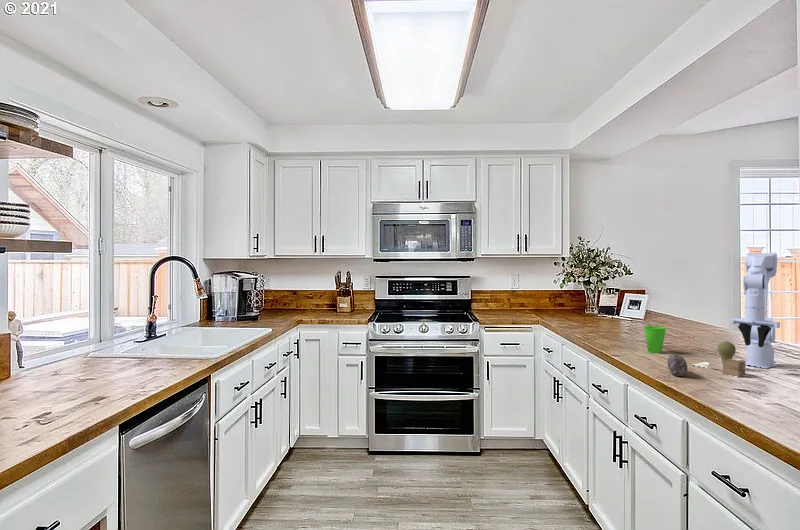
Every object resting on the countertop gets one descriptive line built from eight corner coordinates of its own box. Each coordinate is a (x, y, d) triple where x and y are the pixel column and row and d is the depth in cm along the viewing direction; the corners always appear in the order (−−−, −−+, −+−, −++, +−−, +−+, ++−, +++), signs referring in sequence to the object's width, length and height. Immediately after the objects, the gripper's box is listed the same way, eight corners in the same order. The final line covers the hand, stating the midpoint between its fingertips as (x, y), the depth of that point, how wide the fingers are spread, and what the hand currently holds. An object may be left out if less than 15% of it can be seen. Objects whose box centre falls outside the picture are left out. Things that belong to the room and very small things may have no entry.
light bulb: (738, 370, 177) (738, 343, 177) (721, 369, 178) (721, 342, 178) (731, 367, 182) (731, 340, 182) (714, 366, 183) (715, 339, 183)
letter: (704, 362, 191) (704, 361, 191) (744, 369, 179) (744, 368, 179) (691, 365, 186) (691, 364, 186) (731, 372, 174) (731, 372, 174)
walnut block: (729, 372, 174) (729, 359, 174) (745, 375, 170) (745, 361, 170) (722, 374, 172) (722, 360, 171) (738, 377, 167) (738, 363, 167)
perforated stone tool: (664, 368, 181) (664, 350, 181) (680, 369, 179) (680, 351, 179) (671, 377, 167) (671, 357, 167) (688, 379, 165) (688, 358, 165)
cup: (644, 353, 209) (644, 328, 209) (642, 349, 217) (642, 325, 217) (667, 355, 206) (668, 329, 205) (665, 351, 214) (665, 326, 214)
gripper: (726, 306, 176) (726, 343, 176) (773, 310, 164) (773, 350, 164) (736, 305, 180) (735, 342, 180) (782, 309, 168) (782, 348, 168)
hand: (754, 345), depth 172 cm, fingers open, 3 cm apart
